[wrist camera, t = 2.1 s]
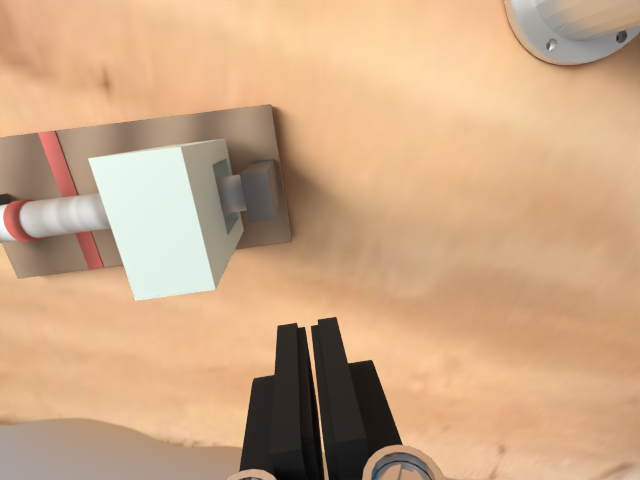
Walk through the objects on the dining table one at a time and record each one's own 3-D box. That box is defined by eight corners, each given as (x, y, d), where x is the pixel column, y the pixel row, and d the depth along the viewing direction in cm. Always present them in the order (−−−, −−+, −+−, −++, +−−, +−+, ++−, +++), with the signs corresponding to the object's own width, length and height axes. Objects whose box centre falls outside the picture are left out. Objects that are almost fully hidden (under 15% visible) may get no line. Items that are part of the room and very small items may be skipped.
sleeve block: (225, 138, 24) (180, 146, 15) (243, 230, 27) (215, 289, 17) (169, 145, 24) (87, 158, 15) (192, 237, 27) (135, 300, 17)
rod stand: (271, 105, 27) (261, 96, 19) (291, 237, 30) (290, 277, 22) (-29, 142, 26) (-173, 149, 18) (28, 273, 29) (-70, 327, 21)
